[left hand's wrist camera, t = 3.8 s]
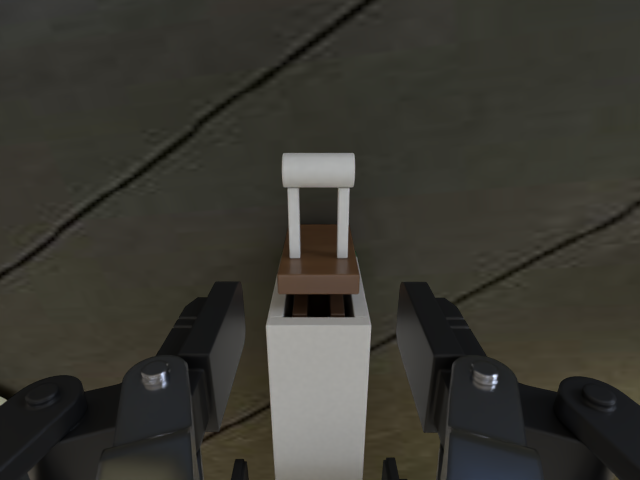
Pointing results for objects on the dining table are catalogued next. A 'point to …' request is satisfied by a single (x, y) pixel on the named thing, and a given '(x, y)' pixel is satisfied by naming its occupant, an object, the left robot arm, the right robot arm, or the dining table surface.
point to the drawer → (318, 238)
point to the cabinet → (318, 389)
